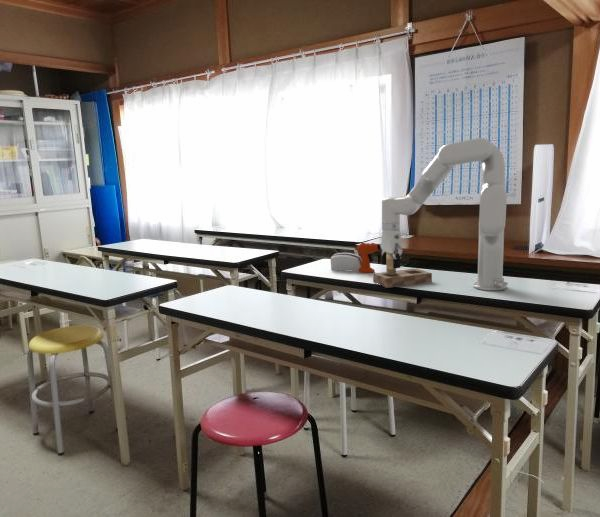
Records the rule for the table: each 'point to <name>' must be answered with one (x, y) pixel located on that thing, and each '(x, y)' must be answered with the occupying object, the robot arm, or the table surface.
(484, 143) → the robot arm
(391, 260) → the peg
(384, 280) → the board
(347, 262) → the grey toaster
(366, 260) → the toy drill
